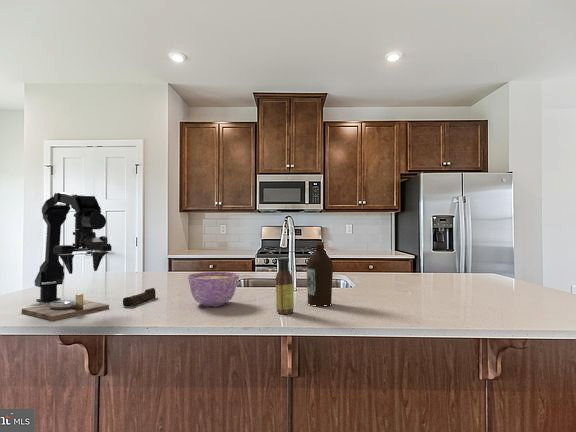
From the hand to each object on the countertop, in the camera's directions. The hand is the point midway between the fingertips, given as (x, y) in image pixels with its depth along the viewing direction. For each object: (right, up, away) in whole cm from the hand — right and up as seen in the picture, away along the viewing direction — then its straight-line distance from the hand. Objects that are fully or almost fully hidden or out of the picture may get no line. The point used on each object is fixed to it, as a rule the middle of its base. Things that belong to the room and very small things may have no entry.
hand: (83, 272), depth 132 cm
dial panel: (-6, -14, 0) cm, 15 cm away
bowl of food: (+45, -15, +12) cm, 49 cm away
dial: (-4, -12, -1) cm, 13 cm away
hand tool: (+14, -15, +16) cm, 26 cm away
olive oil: (+87, -15, +14) cm, 89 cm away
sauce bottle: (+73, -15, 0) cm, 74 cm away
